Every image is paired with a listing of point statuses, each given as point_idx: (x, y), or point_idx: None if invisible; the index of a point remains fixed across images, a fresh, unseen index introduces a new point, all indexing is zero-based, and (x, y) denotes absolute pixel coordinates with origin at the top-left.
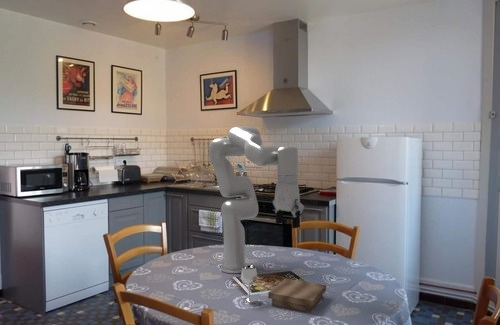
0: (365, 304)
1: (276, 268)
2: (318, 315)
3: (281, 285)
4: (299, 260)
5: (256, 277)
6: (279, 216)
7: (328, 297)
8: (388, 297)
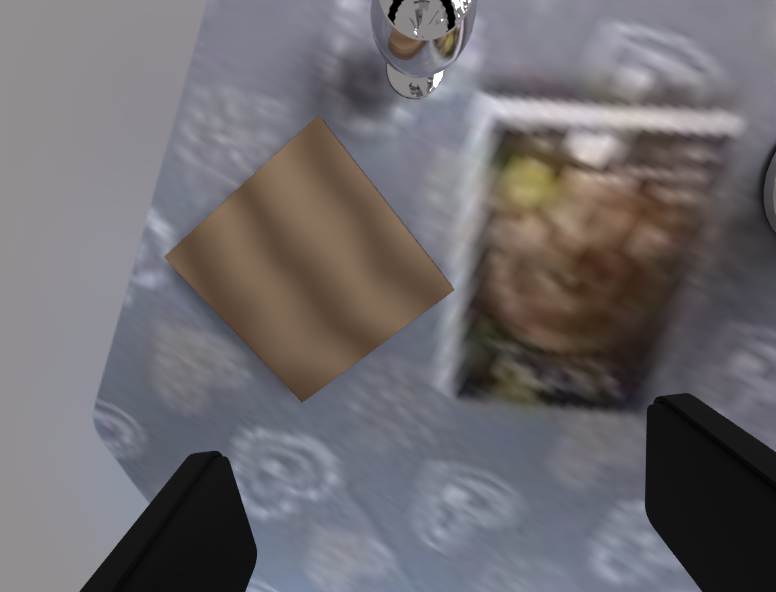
0: None
1: (707, 374)
2: None
3: (377, 224)
4: None
5: (382, 55)
6: (762, 563)
7: None
8: None
